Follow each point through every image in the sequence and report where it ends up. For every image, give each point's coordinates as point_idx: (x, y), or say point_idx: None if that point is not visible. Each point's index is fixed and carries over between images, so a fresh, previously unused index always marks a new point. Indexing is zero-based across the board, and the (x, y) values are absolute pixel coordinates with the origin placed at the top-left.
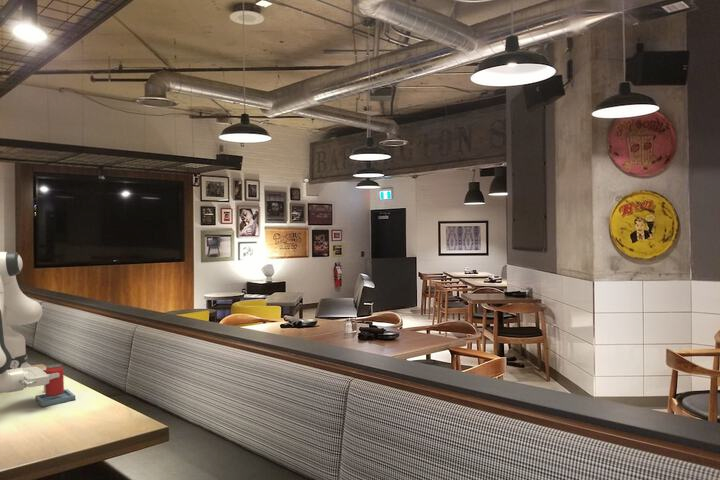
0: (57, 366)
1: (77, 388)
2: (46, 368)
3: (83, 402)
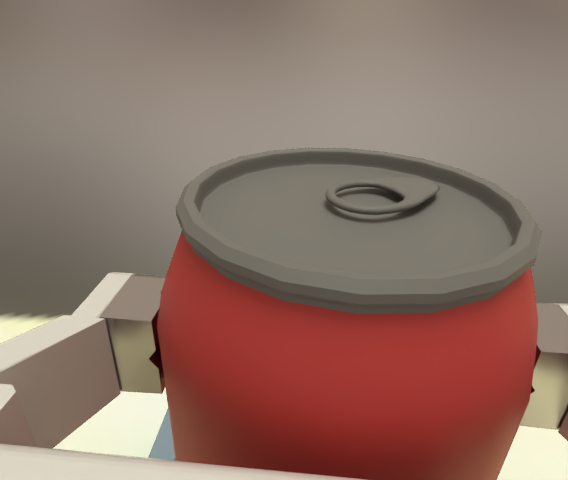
0: (498, 188)
1: None
2: (365, 334)
3: (548, 438)
